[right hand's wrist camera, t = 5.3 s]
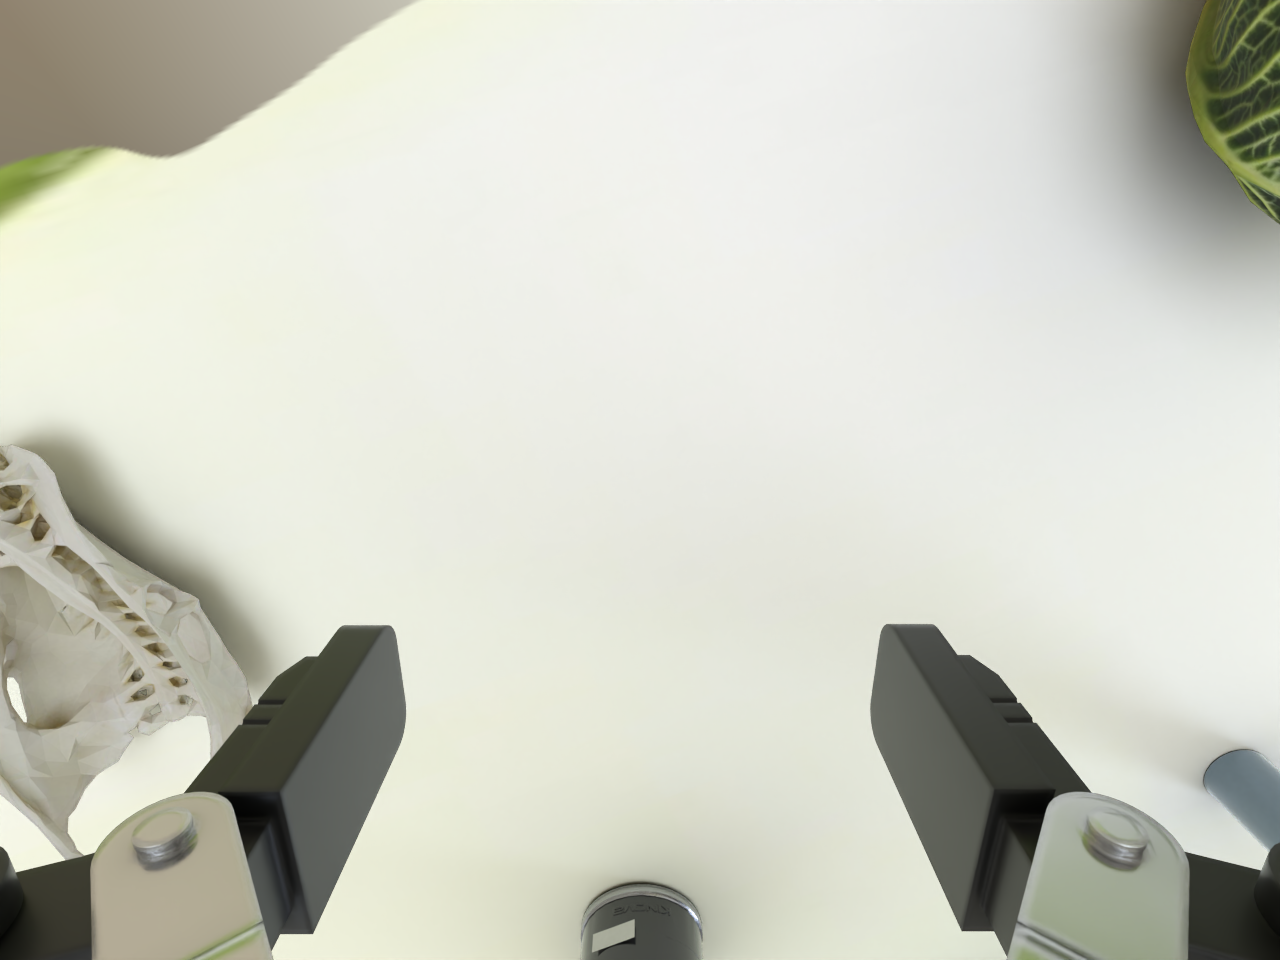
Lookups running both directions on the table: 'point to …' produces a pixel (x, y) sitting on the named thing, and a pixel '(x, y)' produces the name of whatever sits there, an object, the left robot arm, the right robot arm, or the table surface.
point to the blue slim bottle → (1248, 792)
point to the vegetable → (1240, 92)
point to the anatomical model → (90, 652)
